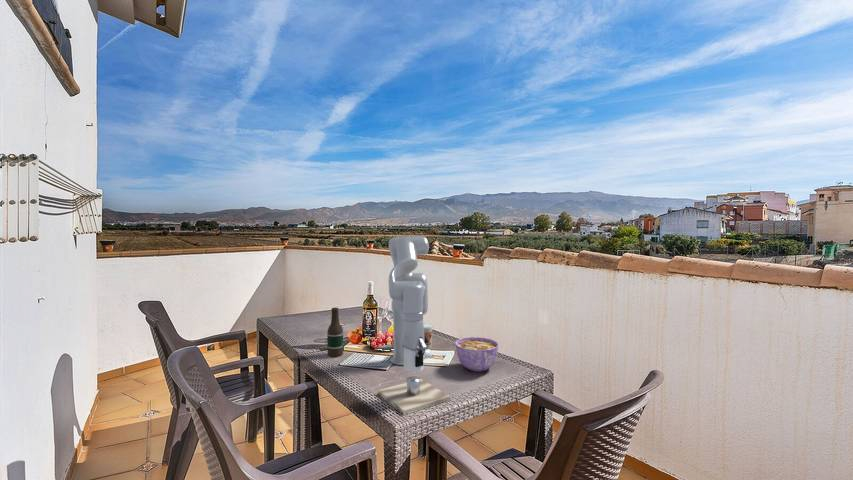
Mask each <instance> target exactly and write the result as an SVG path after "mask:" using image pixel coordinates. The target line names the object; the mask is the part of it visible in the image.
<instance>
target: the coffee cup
mask: <svg viewBox="0 0 853 480" xmlns="http://www.w3.org/2000/svg"><path fill="white" fill-rule="evenodd" d="M423 326H424V340H425V341H424V343H425V345H426V347H427V349H430V350H431V348H432V342H433V328H434V326H433V325H432V323H424V322H423ZM427 349H426V350H427Z"/></svg>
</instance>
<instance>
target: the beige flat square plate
mask: <svg viewBox="0 0 853 480" xmlns="http://www.w3.org/2000/svg"><path fill="white" fill-rule="evenodd" d="M378 394H379V395H380V396H379V395H378ZM377 395H378V396H379V397H381V398H382V397H383V398H384V399H383V398H382V399H383V400H385V401H386V400H387V401H388V402H389V403H388V402H387V401H386V402H387V403H388V404H390V403H391V404H392V405H393V406H395V407H396V408H397V409H399V410H400V411H401V412H403V413H408V412H411V411H415V412H417V411H416V410H418V411H421V410H420V409H422V410H424V409H423V408H425V409H427V408H426V407H428V408H430V407H429V406H431V407H433V406H432V405H434V406H436V405H435V404H437V405H439V404H438V403H440V404H442V402H443V403H446V402H450V401H451V395H449V394H447V393H446V392H444V391H442V390H440V389H439V388H437V387H435V386H434V385H432V384H431V383H429V382H427V381H425V380H424V379H422V378H420V377H419V376H416V375H415V376H414V375H413V376H409V377H406V382H403V383H400V384H396V385H392V386H389V387H385V388H382V389H381V388H380V389H378V390H377ZM391 404H390V405H391ZM392 405H391V406H392ZM393 406H392V407H393ZM395 407H394V408H395ZM396 408H395V409H396ZM397 409H396V410H397ZM400 411H399V412H400ZM401 412H400V413H401Z"/></svg>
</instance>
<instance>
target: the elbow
mask: <svg viewBox="0 0 853 480" xmlns="http://www.w3.org/2000/svg"><path fill="white" fill-rule="evenodd" d="M419 351H420V349H418V352H419ZM415 356H416V352H415V349H414V350H413V349H410V348H408V347H406V346H405V347H404V365H403V371H405V372H408V373H419V372H422V371H423V370H424V365H423V366H420V367H415ZM432 356H433V354H432V350H431V348H430V349H427V350H426V351H425V353H424V355H423V360H427V359H429V358H432Z"/></svg>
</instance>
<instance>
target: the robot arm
mask: <svg viewBox="0 0 853 480" xmlns="http://www.w3.org/2000/svg"><path fill="white" fill-rule="evenodd" d="M429 250H430V244H429V239H428V238H427V237H425V236H422V235H421V236H417V235H415V236H411V235H409V236H408V235H407V236H405V235H404V236H395V237H392V238H390V239H389V241H388V251H389V255H390V257H391V259H392V263H393V268H392V269H391V270H390V272H389V275H388V293H389V297H390V299H392V300H391V311H392V320H393V339H394V350H392V351H391V352H392V353H393V356H392V357H390V360H389V361H390V363H391V364H393V365H397V366H404V347H405V346H406V347H408V348H410V349H413V350H414V349H415V352H416V356H415V367H420V366H423V367H424V359H423V355H424V353H425V351H426V349H427V347H426V345H425V343H424V341H425V340H424V326H423V323H424V315H426V314H427V313H428V311H429V310H428V309H429V296H428V294H429V293H428V279H427V276H426V274H424V273H423V272H413V271H415V270H416V269H417V268H418V256H426V255H428V253H429ZM418 349H420V351H419V352H418Z"/></svg>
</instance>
